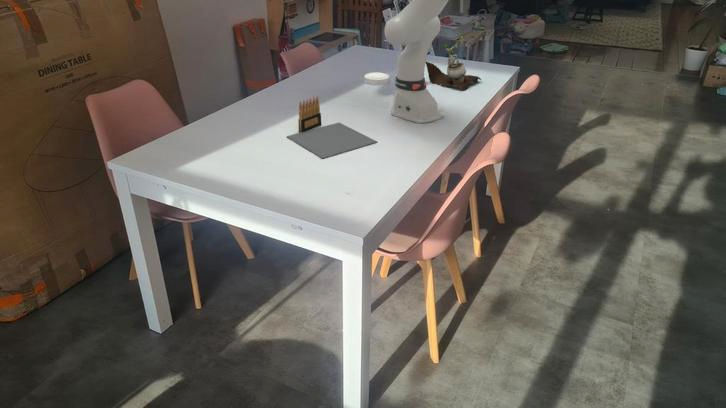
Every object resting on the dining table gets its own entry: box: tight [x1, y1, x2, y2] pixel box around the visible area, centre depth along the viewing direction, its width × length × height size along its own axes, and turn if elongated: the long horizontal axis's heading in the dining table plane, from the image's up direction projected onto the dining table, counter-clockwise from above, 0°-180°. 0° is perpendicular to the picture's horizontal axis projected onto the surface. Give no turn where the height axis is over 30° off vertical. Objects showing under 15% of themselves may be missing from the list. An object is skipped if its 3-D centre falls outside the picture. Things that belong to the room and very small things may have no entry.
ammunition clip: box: [298, 95, 322, 133], centre depth 201 cm, size 11×2×12 cm, turn 140°
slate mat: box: [286, 121, 378, 160], centre depth 194 cm, size 24×24×1 cm
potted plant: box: [425, 35, 482, 91], centre depth 252 cm, size 20×19×25 cm
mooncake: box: [363, 71, 390, 86], centre depth 257 cm, size 12×12×4 cm
